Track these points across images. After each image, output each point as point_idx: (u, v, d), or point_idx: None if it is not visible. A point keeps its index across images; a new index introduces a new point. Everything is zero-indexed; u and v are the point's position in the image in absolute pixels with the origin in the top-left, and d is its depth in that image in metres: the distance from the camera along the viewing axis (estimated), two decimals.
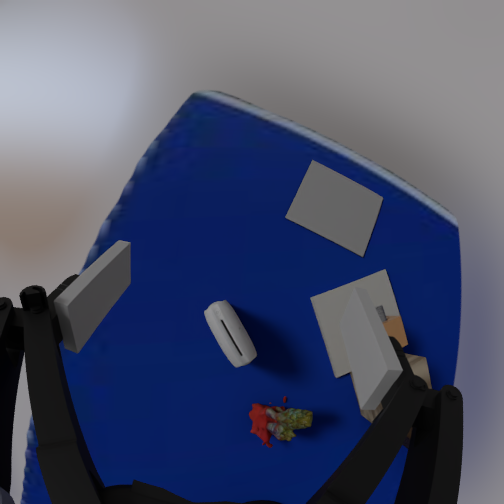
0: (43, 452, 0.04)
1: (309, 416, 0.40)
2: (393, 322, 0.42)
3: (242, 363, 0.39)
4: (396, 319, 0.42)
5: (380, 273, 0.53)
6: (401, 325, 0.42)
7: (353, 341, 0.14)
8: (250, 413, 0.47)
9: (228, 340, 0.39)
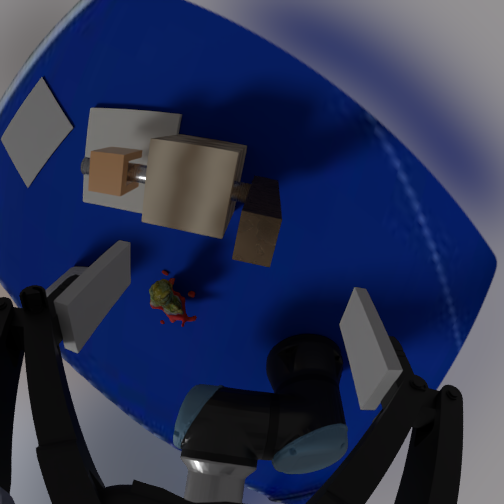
0: (43, 452, 0.04)
1: (155, 288, 0.41)
2: (92, 163, 0.32)
3: None
4: (91, 158, 0.32)
5: (91, 116, 0.38)
6: (100, 154, 0.31)
7: (352, 341, 0.14)
8: None
9: None
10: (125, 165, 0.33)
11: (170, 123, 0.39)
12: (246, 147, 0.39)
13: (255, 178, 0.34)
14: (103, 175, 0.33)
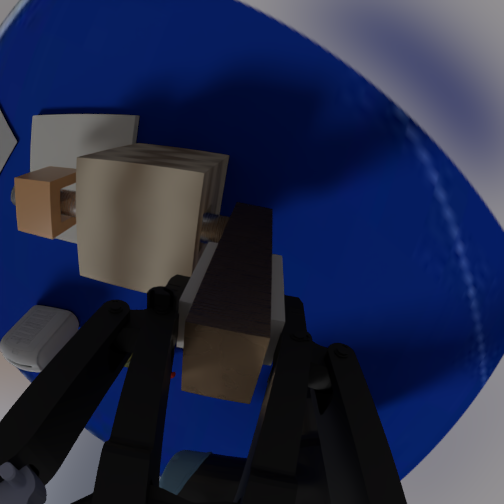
0: (110, 449, 0.05)
1: None
2: (17, 194, 0.20)
3: (38, 369, 0.29)
4: (16, 187, 0.20)
5: (33, 126, 0.27)
6: (24, 182, 0.20)
7: None
8: None
9: (18, 367, 0.29)
10: (55, 195, 0.21)
11: (124, 128, 0.27)
12: (227, 158, 0.28)
13: (236, 209, 0.23)
14: (30, 210, 0.21)
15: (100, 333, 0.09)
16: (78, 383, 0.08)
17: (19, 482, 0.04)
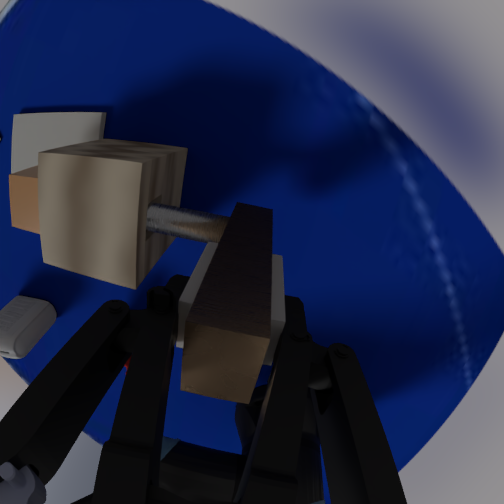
0: (110, 449, 0.05)
1: None
2: (11, 191, 0.20)
3: (15, 356, 0.29)
4: (10, 184, 0.20)
5: (14, 124, 0.27)
6: (18, 178, 0.20)
7: None
8: None
9: None
10: None
11: (91, 125, 0.27)
12: (184, 150, 0.28)
13: (237, 209, 0.23)
14: (24, 207, 0.21)
15: (100, 333, 0.09)
16: (78, 383, 0.08)
17: (19, 482, 0.04)
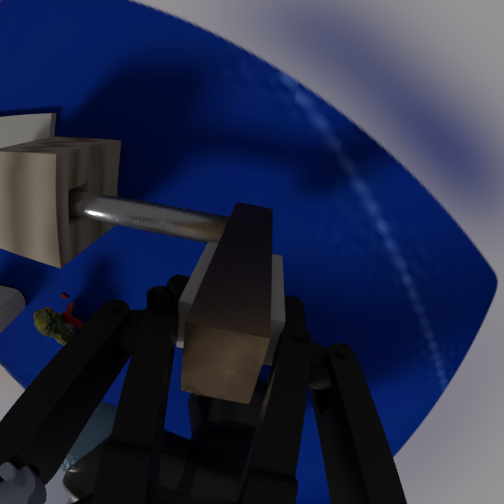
0: (110, 449, 0.05)
1: (35, 318, 0.29)
2: None
3: None
4: None
5: None
6: None
7: None
8: None
9: None
10: None
11: (44, 125, 0.27)
12: (115, 143, 0.27)
13: (237, 209, 0.23)
14: None
15: (100, 333, 0.09)
16: (78, 383, 0.08)
17: (19, 482, 0.04)
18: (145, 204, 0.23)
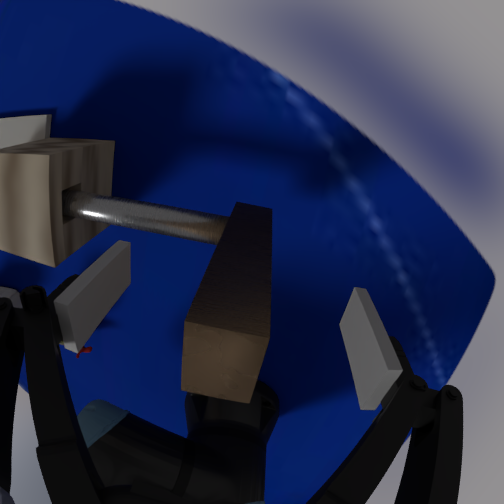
0: (43, 452, 0.04)
1: None
2: None
3: None
4: None
5: None
6: None
7: (353, 341, 0.14)
8: None
9: None
10: None
11: (39, 126, 0.27)
12: (109, 143, 0.27)
13: (236, 208, 0.23)
14: None
15: None
16: None
17: None
18: (145, 205, 0.23)
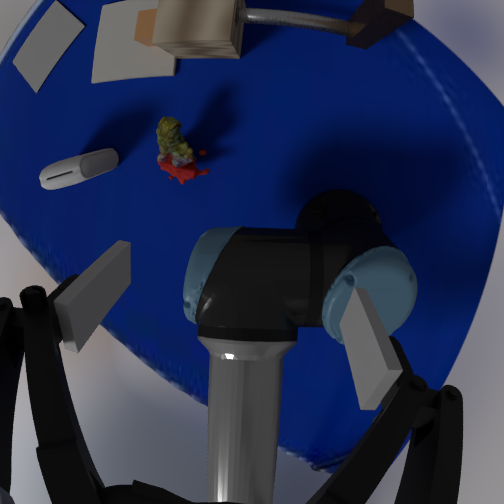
0: (43, 452, 0.04)
1: (163, 122, 0.36)
2: (139, 19, 0.31)
3: (79, 173, 0.36)
4: (139, 15, 0.30)
5: (103, 11, 0.34)
6: (147, 11, 0.30)
7: (353, 341, 0.14)
8: (171, 174, 0.46)
9: (57, 179, 0.36)
10: None
11: None
12: None
13: None
14: (149, 24, 0.31)
15: None
16: None
17: None
18: (298, 12, 0.28)
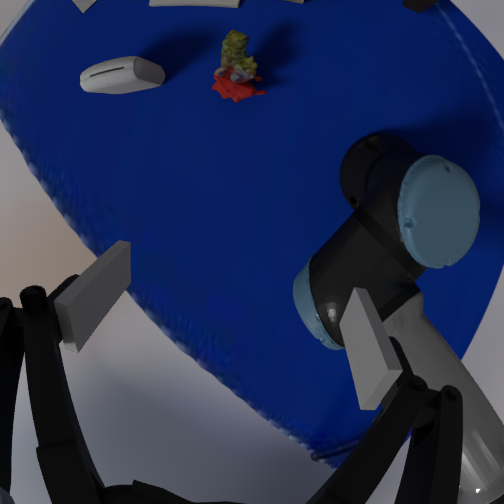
0: (43, 452, 0.04)
1: (232, 33, 0.31)
2: None
3: (131, 69, 0.31)
4: None
5: None
6: None
7: (352, 341, 0.14)
8: (222, 95, 0.42)
9: (104, 74, 0.31)
10: None
11: None
12: None
13: None
14: None
15: None
16: None
17: None
18: None
